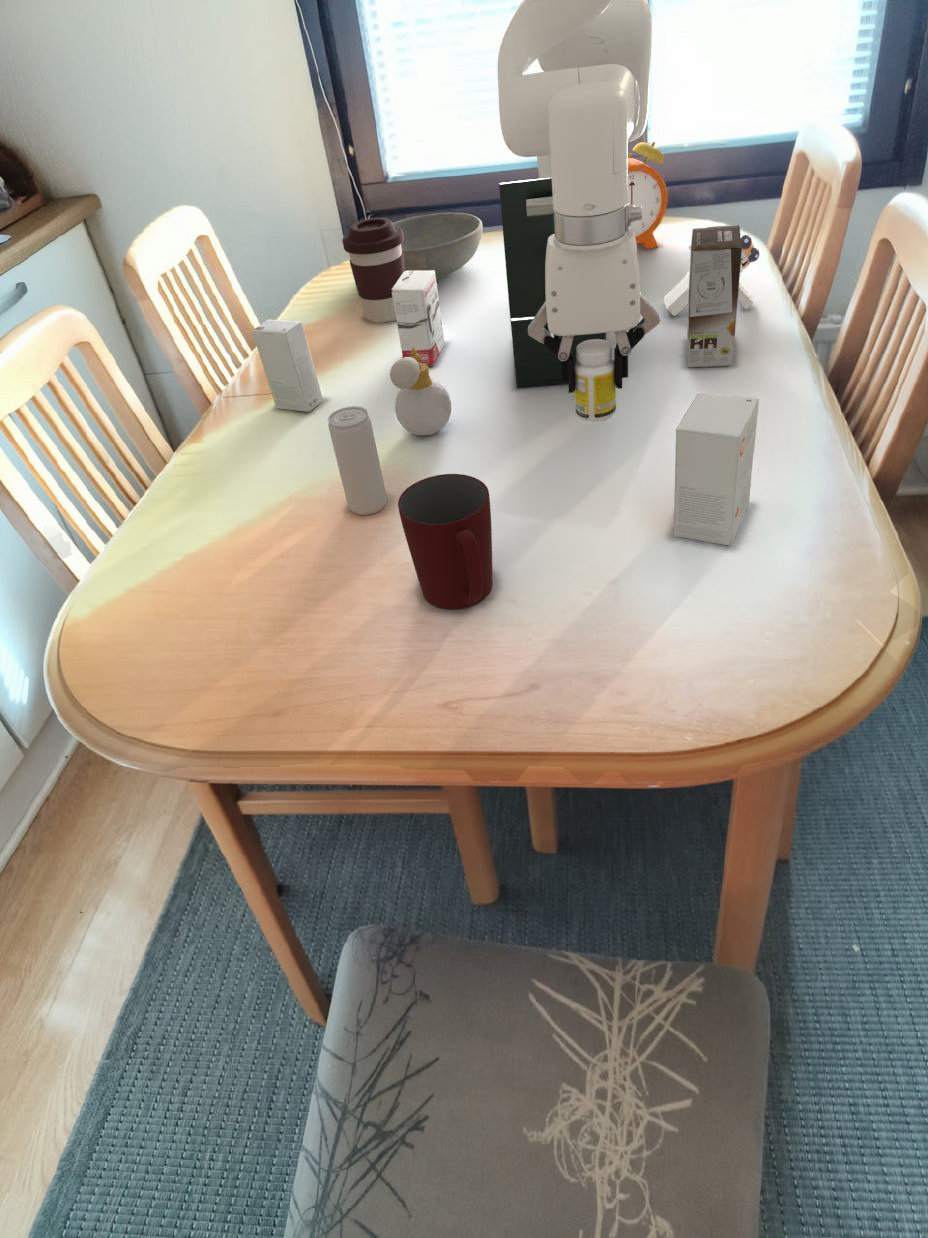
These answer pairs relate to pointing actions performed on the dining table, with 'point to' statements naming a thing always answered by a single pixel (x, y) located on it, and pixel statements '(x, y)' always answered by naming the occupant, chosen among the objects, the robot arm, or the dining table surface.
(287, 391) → the cosmetic box
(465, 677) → the dining table surface
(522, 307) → the dark green block
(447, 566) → the mug
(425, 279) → the ink box
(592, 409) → the supplement bottle
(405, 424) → the perfume bottle
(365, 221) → the coffee cup
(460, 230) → the bowl
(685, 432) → the small box
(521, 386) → the bin
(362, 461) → the beverage can
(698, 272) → the coffee box
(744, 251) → the figurine
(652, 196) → the alarm clock
